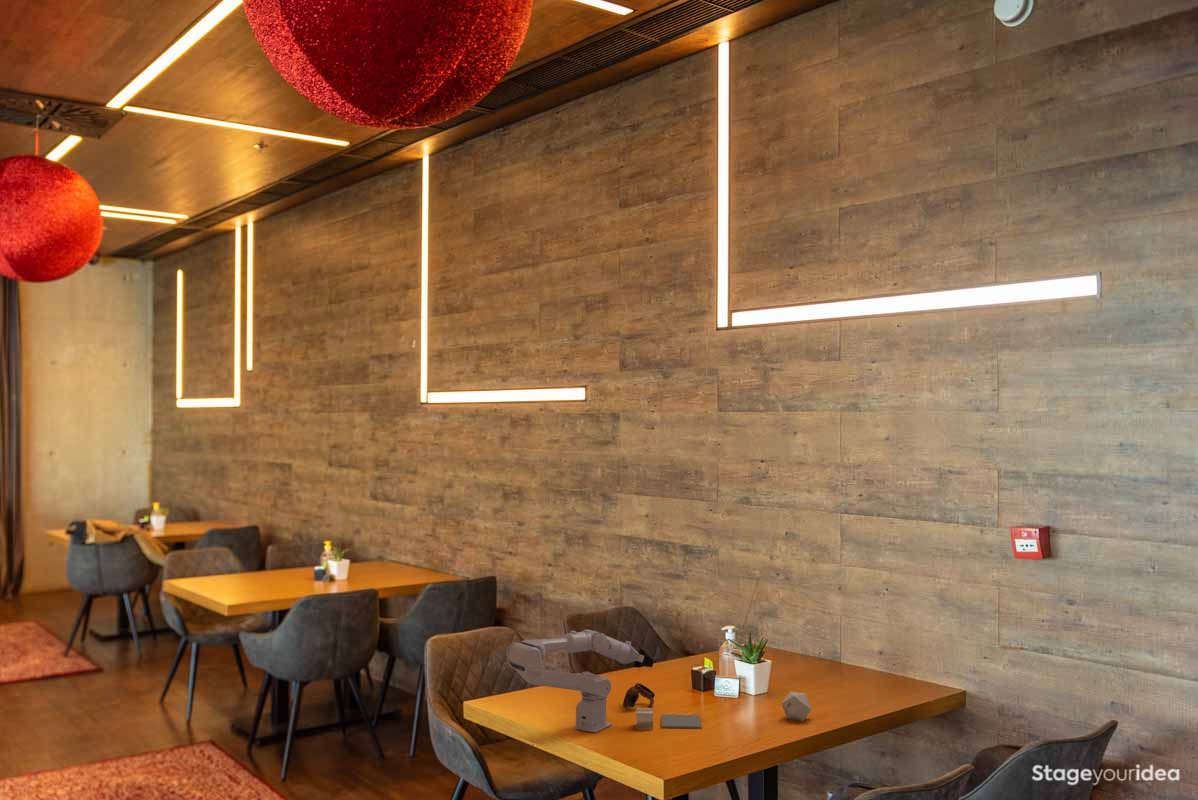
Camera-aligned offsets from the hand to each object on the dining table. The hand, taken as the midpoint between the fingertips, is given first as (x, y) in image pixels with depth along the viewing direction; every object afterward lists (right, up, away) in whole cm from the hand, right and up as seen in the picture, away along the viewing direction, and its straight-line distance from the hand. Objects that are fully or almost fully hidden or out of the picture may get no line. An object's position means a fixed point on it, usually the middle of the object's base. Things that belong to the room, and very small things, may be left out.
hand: (644, 661), depth 312 cm
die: (+47, -16, -5) cm, 50 cm away
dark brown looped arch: (-2, -17, +8) cm, 19 cm away
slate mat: (+11, -16, -9) cm, 22 cm away
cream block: (-1, -16, -14) cm, 21 cm away
